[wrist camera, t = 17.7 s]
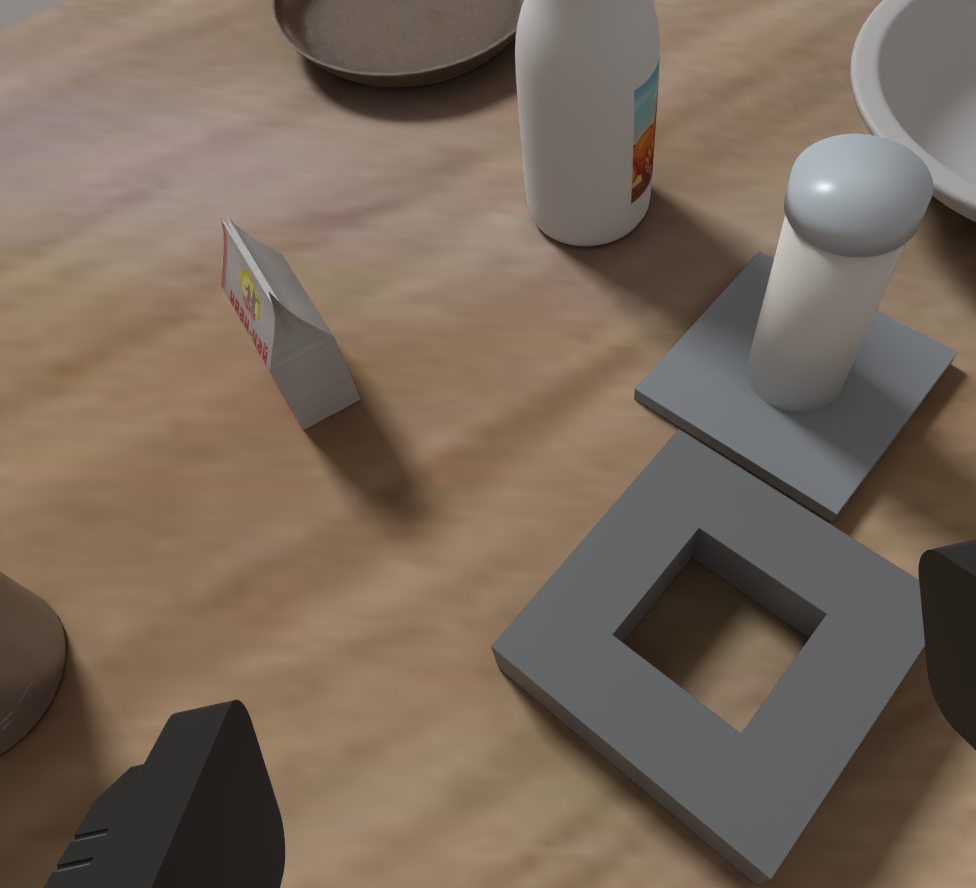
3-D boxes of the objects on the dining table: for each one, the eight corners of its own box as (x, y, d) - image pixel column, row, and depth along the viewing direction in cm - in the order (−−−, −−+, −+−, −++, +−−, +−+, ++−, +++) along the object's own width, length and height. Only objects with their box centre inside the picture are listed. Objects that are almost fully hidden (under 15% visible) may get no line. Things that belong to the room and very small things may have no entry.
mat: (634, 398, 48) (634, 388, 47) (756, 263, 52) (759, 251, 51) (831, 522, 43) (836, 514, 43) (950, 363, 47) (957, 352, 46)
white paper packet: (312, 322, 53) (258, 201, 45) (360, 399, 50) (312, 284, 42) (257, 350, 53) (191, 233, 44) (303, 430, 50) (241, 320, 41)
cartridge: (722, 380, 47) (764, 192, 35) (778, 316, 49) (835, 116, 37) (813, 433, 45) (889, 251, 33) (867, 364, 47) (958, 168, 35)
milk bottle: (602, 269, 53) (606, -59, 36) (503, 218, 56) (461, -109, 39) (673, 191, 56) (709, -150, 38) (574, 146, 59) (566, -190, 41)
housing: (498, 668, 42) (491, 646, 39) (673, 463, 46) (678, 429, 43) (756, 885, 36) (771, 879, 33) (927, 628, 40) (953, 601, 37)
